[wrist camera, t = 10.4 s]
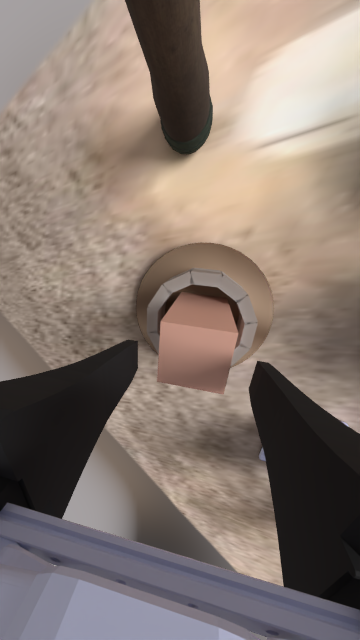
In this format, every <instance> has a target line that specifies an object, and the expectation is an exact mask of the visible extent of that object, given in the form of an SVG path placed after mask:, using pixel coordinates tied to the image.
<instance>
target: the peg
mask: <svg viewBox="0 0 360 640" xmlns="http://www.w3.org/2000/svg"><path fill="white" fill-rule="evenodd" d="M237 337H238V330H237V327H236V324H235V321H234V318H233V315H232V312H231V309H230V306H229V302H228V299H227V298H224V297H217V296H209V295H202V294H194V293H186V292H181V293H180V295H179V296H178V298H177V299H176V300H175V302H174V303H173V305H172V306H171V307H170V309H169V310H168V312H167V313H166V315H165V316H164V317H163V319H162V320H161V324H160V341H159V359H158V377H157V382H162V383H167V384H172V385H178V386H183V387H188V388H193V389H198V390H203V391H209V392H214V393H219V394H224V390H225V386H226V382H227V378H228V374H229V370H230V366H231V362H232V357H233V353H234V349H235V345H236V341H237Z"/></svg>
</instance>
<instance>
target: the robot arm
mask: <svg viewBox="0 0 360 640" xmlns="http://www.w3.org/2000/svg"><path fill="white" fill-rule="evenodd" d="M137 369H138V341H133V340H126V341H124V342H122V343H119V344H117V345H115V346H113V347H111V348H109V349H107V350H105V351H102V352H100V353H98V354H96V355H93V356H91V357H88V358H86V359H84V360H81V361H79V362H76V363H73V364H70V365H67V366H64V367H61V368H57V369H54V370H50V371H46V372H43V373H39V374H36V375H31V376H26V377H22V378H17V379H12V380H6V381H1V382H0V640H260V639H259V638H257V637H256V636H255V635H253V634H252V633H251V632H253V633H256V634H259V635H262V636H265V637H267V640H360V434H359V433H357V432H356V431H354V430H353V429H351V428H350V427H349V426H348V425H347V423H345V422H342V421H339V420H338V419H337V418H335V417H334V416H332V415H331V414H330V413H328V412H327V411H325V410H324V409H323V408H321V407H320V406H319V405H317V404H316V403H315V402H314V401H312V400H311V399H310V398H309V397H307V396H306V395H305V394H304V393H303V392H301V391H300V390H299V389H298V388H297V387H296V386H294V385H293V384H292V383H291V382H290V381H289V380H288V379H287V378H285V377H284V376H283V375H282V374H281V373H280V372H279V371H278V370H277V369H275V368H274V367H273V366H272V365H271V364H269V363H266V362H260V361H257V364H256V367H255V370H254V374H253V377H252V380H251V384H250V387H249V394H250V401H251V407H252V410H253V414H254V418H255V421H256V425H257V428H258V432H259V436H260V439H261V443H262V449H261V451H260V454H259V458H260V460H262V461H266V465H267V470H268V476H269V481H270V487H271V494H272V500H273V506H274V513H275V520H276V527H277V534H278V542H279V550H280V558H281V567H282V575H283V584H284V587H283V586H279V585H276V584H273V583H270V582H266V581H263V580H260V579H257V578H253V577H250V576H247V575H243V574H240V573H237V572H234V571H230V570H227V569H224V568H220V567H217V566H214V565H211V564H207V563H204V562H201V561H197V560H194V559H191V558H188V557H184V556H181V555H178V554H174V553H171V552H168V551H165V550H161V549H158V548H155V547H152V546H148V545H145V544H142V543H138V542H135V541H132V540H129V539H125V538H122V537H119V536H116V535H112V534H109V533H106V532H102V531H99V530H96V529H93V528H89V527H86V526H83V525H80V524H76V523H73V522H70V521H66V520H63V519H62V517H63V515H64V513H65V510H66V508H67V506H68V503H69V501H70V499H71V496H72V494H73V491H74V489H75V487H76V485H77V482H78V480H79V478H80V476H81V474H82V471H83V469H84V467H85V465H86V463H87V460H88V459H89V456H90V454H91V452H92V450H93V448H94V446H95V444H96V442H97V440H98V438H99V436H100V434H101V432H102V430H103V428H104V426H105V424H106V422H107V420H108V419H109V417H110V415H111V414H112V412H113V410H114V409H115V407H116V406H117V404H118V403H119V401H120V399H121V398H122V396H123V395H124V393H125V392H126V390H127V388H128V387H129V385H130V384H131V382H132V380H133V378H134V375H135V373H136V371H137ZM50 563H51V564H50ZM52 564H54V565H57V566H53V565H52ZM250 631H251V632H250Z"/></svg>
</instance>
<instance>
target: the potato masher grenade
mask: <svg viewBox="0 0 360 640" xmlns="http://www.w3.org/2000/svg"><path fill="white" fill-rule="evenodd" d="M125 2H126V5H127V8H128V10H129V13H130V16H131V19H132V22H133V25H134V28H135V31H136V34H137V36H138V39H139V42H140V45H141V48H142V51H143V54H144V57H145V59H146V62H147V65H148V68H149V71H150V76H151V83H152V91H153V98H154V102H155V105H156V108H157V110H158V113H159V116H160V119H161V126H162V131H163V133H164V136H165V139H166V140H167V142H168V144H169V145H170V146H171V147H172V149H173V150H175V151H177V152H178V153H180V154H191V153H193V152H196V151H197V150H198V149H199V148H200V147H201V146H202V145H203V144H204V143H205V141H206V139H207V138H208V136H209V133H210V129H211V125H212V114H213V106H212V102H211V98H210V94H209V71H208V66H207V62H206V58H205V54H204V50H203V46H202V41H201V20H200V0H125Z"/></svg>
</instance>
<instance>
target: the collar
mask: <svg viewBox="0 0 360 640" xmlns="http://www.w3.org/2000/svg"><path fill="white" fill-rule="evenodd" d="M181 292H186V293H194V294H202V295H209V296H217V297H224V298H227V299H228V302H229V306H230V309H231V312H232V315H233V318H234V321H235V324H236V327H237V330H238V337H237V341H236V345H235V349H234V353H233V357H232V362H231V366H230V368H231V367H234V366H236V365H238V364H240V363H242V362H243V361H245V360H246V359H248V358H249V357H250V356H251V355H253V354H254V353H255V352H256V351H257V350H258V349H259V347H260V346H261V345H262V343H263V342H264V340H265V338H266V337H267V335H268V333H269V330H270V327H271V324H272V320H273V312H274V305H273V297H272V292H271V289H270V286H269V284H268V281H267V279H266V278H265V276H264V274H263V273H262V271H261V270H260V269H259V268H258V266H257V265H256V264H255V263H254V262H253V261H252V260H251V259H249V258H248V257H247V256H245V255H244V254H242V253H241V252H239V251H237V250H235V249H233V248H230V247H227V246H224V245H220V244H214V243H195V244H189V245H185V246H181V247H179V248H176V249H174V250H172V251H170V252H168V253H167V254H165V255H163V256H162V257H161V258H160V259H158V260H157V261H156V262H155V263H154V264H153V265H152V266H151V267H150V269H149V270H148V272H147V273H146V274H145V276H144V278H143V280H142V282H141V284H140V287H139V290H138V295H137V301H136V312H137V319H138V324H139V327H140V329H141V332H142V334H143V336H144V338H145V339H146V341H147V342H148V344H149V345H150V346H151V348H152V349H153V350H154V351H155V352H156V353H157V354H158V355H159V341H160V324H161V320H162V319H163V317H164V316H165V315H166V313H167V312H168V310H169V309H170V307H171V306H172V305H173V303H174V302H175V300H176V299H177V298H178V296H179V295H180V293H181Z"/></svg>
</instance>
